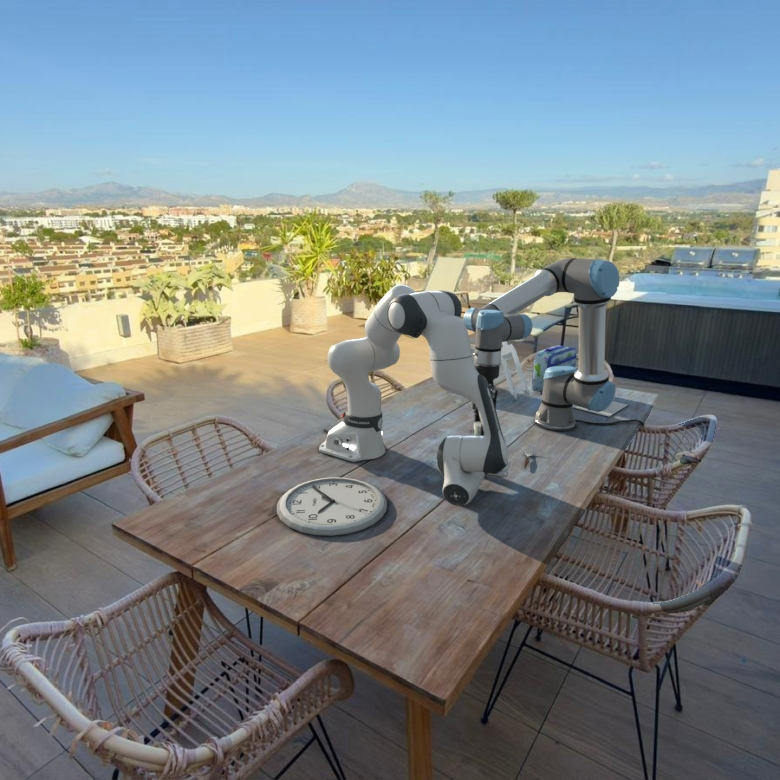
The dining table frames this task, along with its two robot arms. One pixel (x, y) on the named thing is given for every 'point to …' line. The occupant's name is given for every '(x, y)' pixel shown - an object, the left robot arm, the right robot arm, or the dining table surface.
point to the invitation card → (607, 409)
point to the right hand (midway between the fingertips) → (481, 437)
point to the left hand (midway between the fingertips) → (480, 452)
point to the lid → (477, 426)
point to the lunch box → (551, 363)
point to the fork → (528, 455)
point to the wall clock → (331, 506)
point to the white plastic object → (508, 354)
